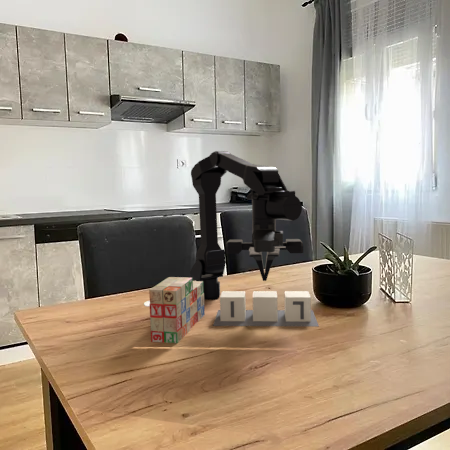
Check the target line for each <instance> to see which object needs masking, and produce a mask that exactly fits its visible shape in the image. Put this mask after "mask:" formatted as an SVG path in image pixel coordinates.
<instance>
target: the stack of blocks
mask: <svg viewBox="0 0 450 450" xmlns="http://www.w3.org/2000/svg"><path fill="white" fill-rule="evenodd" d="M148 290H149V292H148V293H149V295H148V296H149V300H150V306H149V319H150V342H151V343H153V342H154V343H163V344H164V343H167V344H169V343H170V344H179V343H180V342H181V341H182V340H183V339H184V337H185V336H187V335H188V334H189V332H190V331H191V329H192V328H193V327H194V326H195V324H197V323H198V322H200V320H201V319H203V317H204V316H205V300H204V293H203V292H204V291H203V281H196V280H194V279H193V278H191V277H183V276H182V277H181V276H180V277H179V276H177V277H175V276H169V277H166V278H165V279H164V280H162V281H161V282H159V283H158V284H156V285H155V286H153V287H151V288H149V289H148Z"/></svg>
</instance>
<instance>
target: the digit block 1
mask: <svg viewBox="0 0 450 450" xmlns="http://www.w3.org/2000/svg"><path fill="white" fill-rule="evenodd" d="M219 303H220V304H219V308H220V309H219V310H220V321H245V316H246V310H247V309H246V308H247V307H246V291H245V290H240V291H239V290H238V291H237V290H227V291H226V290H223V291H221V292H220V296H219Z"/></svg>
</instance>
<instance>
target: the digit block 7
mask: <svg viewBox="0 0 450 450" xmlns="http://www.w3.org/2000/svg"><path fill="white" fill-rule="evenodd" d="M283 293H284V310H285V319H286V321H300V322H311V310H312V297H311V294H310V292H309V290H294V291H293V290H285V291H284V292H283Z"/></svg>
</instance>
